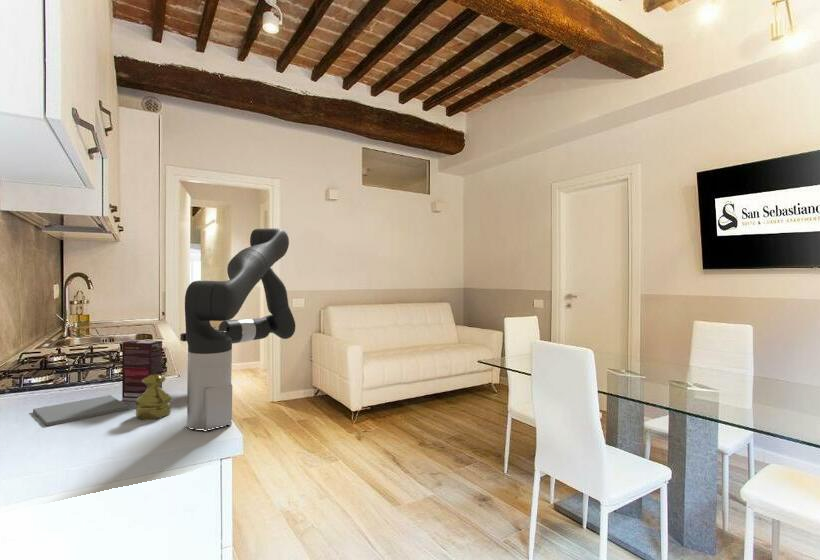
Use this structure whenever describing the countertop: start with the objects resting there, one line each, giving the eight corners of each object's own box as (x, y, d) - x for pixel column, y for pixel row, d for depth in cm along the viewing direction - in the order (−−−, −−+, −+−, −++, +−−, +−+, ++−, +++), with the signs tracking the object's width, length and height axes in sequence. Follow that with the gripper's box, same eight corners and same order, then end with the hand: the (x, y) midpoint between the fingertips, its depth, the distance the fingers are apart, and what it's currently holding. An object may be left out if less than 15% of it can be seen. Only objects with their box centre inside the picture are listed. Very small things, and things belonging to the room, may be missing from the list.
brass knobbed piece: (177, 412, 106) (178, 372, 106) (150, 422, 99) (151, 379, 99) (156, 408, 109) (156, 369, 109) (128, 417, 102) (128, 376, 102)
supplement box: (163, 397, 118) (163, 340, 118) (150, 402, 114) (151, 343, 113) (134, 395, 119) (134, 339, 119) (120, 400, 114) (121, 342, 114)
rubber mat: (128, 409, 108) (128, 406, 108) (46, 426, 95) (46, 422, 95) (110, 398, 116) (110, 395, 116) (33, 412, 104) (33, 408, 104)
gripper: (227, 317, 142) (171, 322, 128) (248, 321, 133) (191, 327, 120) (227, 340, 142) (171, 347, 128) (248, 345, 134) (191, 353, 120)
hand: (181, 337), depth 124 cm, fingers closed
